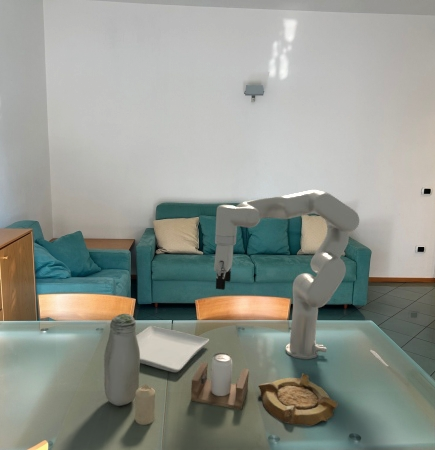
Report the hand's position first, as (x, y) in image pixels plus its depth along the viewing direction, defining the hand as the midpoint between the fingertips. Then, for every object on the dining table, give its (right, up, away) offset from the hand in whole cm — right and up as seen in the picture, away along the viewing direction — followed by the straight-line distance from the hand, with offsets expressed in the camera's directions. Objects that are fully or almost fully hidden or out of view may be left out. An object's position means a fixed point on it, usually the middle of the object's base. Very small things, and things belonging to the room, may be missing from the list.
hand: (223, 284), depth 162 cm
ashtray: (+23, -35, -22) cm, 47 cm away
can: (-1, -32, -20) cm, 38 cm away
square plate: (-23, -27, +6) cm, 36 cm away
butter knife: (+62, -32, +4) cm, 70 cm away
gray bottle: (-32, -32, -26) cm, 52 cm away
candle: (-23, -34, -34) cm, 54 cm away
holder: (-1, -33, -20) cm, 38 cm away
